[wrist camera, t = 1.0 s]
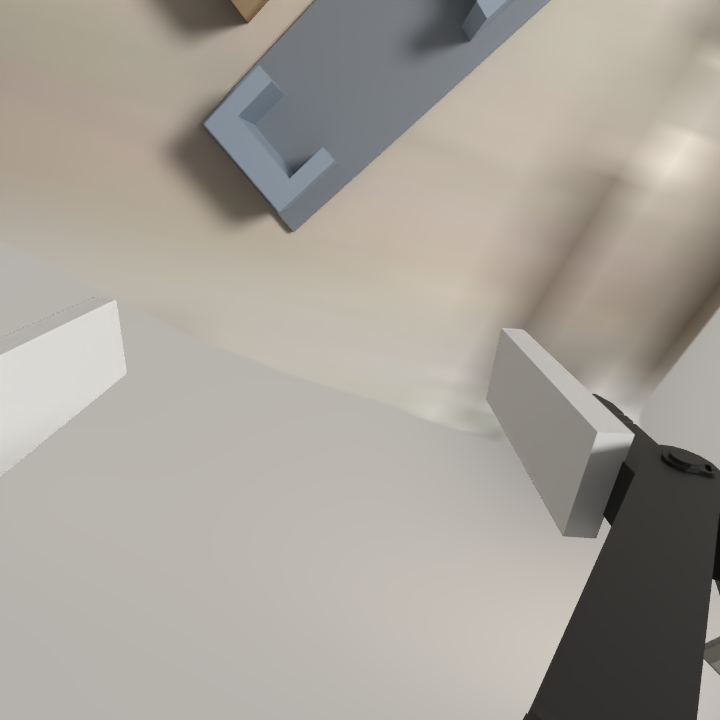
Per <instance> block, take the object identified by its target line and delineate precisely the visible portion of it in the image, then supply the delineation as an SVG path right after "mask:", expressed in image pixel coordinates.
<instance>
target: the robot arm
mask: <svg viewBox="0 0 720 720" xmlns="http://www.w3.org/2000/svg"><path fill="white" fill-rule="evenodd" d="M126 374H127V370H126V363H125V357H124V350H123V343H122V336H121V329H120V322H119V315H118V309H117V302H116V299H108V298H94V297H93V298H91V299H89V300H86V301H84V302H82V303H79V304H77V305H75V306H72V307H70V308H68V309H65V310H63V311H61V312H59V313H56V314H54V315H52V316H49V317H47V318H45V319H43V320H40V321H38V322H36V323H34V324H31V325H29V326H27V327H24V328H22V329H20V330H18V331H15V332H13V333H10V334H8V335H6V336H4V337H1V338H0V477H1V476H2V475H3V474H4V473H5V472H7V471H8V470H9V469H11V468H12V467H13V466H14V465H15V464H17V463H18V462H19V461H20V460H22V459H23V458H24V457H25V456H26V455H28V454H29V453H30V452H31V451H33V450H34V449H35V448H36V447H37V446H39V445H40V444H41V443H42V442H43V441H45V440H46V439H47V438H48V437H50V436H51V435H52V434H53V433H55V432H56V431H57V430H58V429H59V428H61V427H62V426H63V425H64V424H65V423H67V422H68V421H69V420H70V419H72V418H73V417H74V416H75V415H77V414H78V413H79V412H80V411H81V410H83V409H84V408H85V407H86V406H88V405H89V404H90V403H91V402H93V401H94V400H95V399H96V398H97V397H99V396H100V395H101V394H102V393H104V392H105V391H106V390H107V389H108V388H110V387H111V386H112V385H113V384H115V383H116V382H117V381H118V380H119V379H121V378H122V377H123V376H124V375H126ZM486 399H487V401H488V403H489V405H490V406H491V408H492V410H493V412H494V414H495V415H496V417H497V419H498V421H499V423H500V424H501V426H502V428H503V430H504V432H505V433H506V435H507V437H508V439H509V441H510V442H511V444H512V446H513V448H514V449H515V451H516V453H517V455H518V457H519V458H520V460H521V462H522V464H523V466H524V467H525V469H526V471H527V473H528V475H529V476H530V478H531V480H532V481H533V484H534V485H535V487H536V489H537V491H538V492H539V494H540V496H541V498H542V500H543V502H544V503H545V505H546V507H547V509H548V510H549V512H550V514H551V516H552V518H553V519H554V521H555V523H556V525H557V527H558V528H559V530H560V532H561V534H562V536H569V537H584V538H596V537H597V534H598V532H599V529H600V526H601V524H602V521H603V518H604V517H605V518H606V519H607V521H608V522H609V524H610V525H611V529H610V531H609V534H608V536H607V538H606V540H605V543H604V545H603V547H602V549H601V552H600V554H599V556H598V559H597V560H596V563H595V565H594V567H593V570H592V572H591V574H590V576H589V578H588V581H587V583H586V585H585V587H584V590H583V592H582V594H581V596H580V598H579V601H578V603H577V605H576V607H575V610H574V612H573V614H572V617H571V619H570V621H569V623H568V625H567V628H566V630H565V632H564V634H563V637H562V639H561V641H560V643H559V646H558V648H557V650H556V653H555V655H554V657H553V659H552V661H551V663H550V666H549V668H548V670H547V672H546V675H545V677H544V679H543V681H542V684H541V686H540V688H539V691H538V693H537V695H536V697H535V699H534V702H533V704H532V706H531V708H530V710H529V712H528V714H527V713H526V715H525V717H524V719H523V720H697V711H698V703H699V694H700V684H701V675H702V666H703V657H704V648H705V639H706V629H707V620H708V612H709V611H708V610H709V602H710V593H711V584H712V579H714V580H715V582H716V585H717V588H718V591H719V594H720V470H719V469H718V468H717V467H716V466H714V465H713V464H712V463H711V462H709V461H707V460H706V459H704V458H702V457H700V456H699V455H696V454H694V453H691V452H689V451H687V450H684V449H680V448H676V447H673V446H666V445H658V444H657V443H656V442H655V441H654V440H653V439H651V438H650V437H649V436H648V435H647V434H646V433H645V432H644V431H643V430H642V429H640V428H639V427H638V426H637V425H636V424H633V421H632V420H630V419H629V418H628V417H627V416H624V413H623V412H622V411H620V410H619V409H618V408H617V407H616V406H615V405H614V404H613V403H611V402H609V401H607V400H605V399H604V398H602V397H600V396H598V395H596V394H591V393H590V392H589V391H588V390H587V389H586V388H585V387H584V386H583V385H582V384H581V383H580V382H579V381H577V380H576V379H575V378H574V377H573V376H572V375H571V374H570V373H569V372H568V371H567V370H566V369H565V368H564V367H563V366H562V365H560V364H559V363H558V362H557V361H556V360H555V359H554V358H553V357H552V356H551V355H550V354H549V353H548V352H547V351H546V350H545V349H543V348H542V347H541V346H540V345H539V344H538V343H537V342H536V341H535V340H534V339H533V338H532V337H531V336H530V335H529V334H528V333H527V332H525V331H524V330H522V329H509V328H501V332H500V337H499V342H498V346H497V351H496V356H495V360H494V365H493V370H492V375H491V379H490V384H489V389H488V394H487V398H486Z"/></svg>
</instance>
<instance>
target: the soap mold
mask: <svg viewBox="0 0 720 720" xmlns="http://www.w3.org/2000/svg"><path fill="white" fill-rule="evenodd" d="M703 658H704V659H705V661H706V662H707V663H708V664H709V665H710V666H711V667H712V668H713V669H714V670H715V671H716V672H717V673H718V674H719V675H720V636H719V637H717V638H715V639H713V640H711V641H709V642H707V643H705V648H704V657H703Z"/></svg>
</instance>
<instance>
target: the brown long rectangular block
mask: <svg viewBox="0 0 720 720" xmlns="http://www.w3.org/2000/svg"><path fill="white" fill-rule="evenodd" d="M231 1H232V3H233V4H234V5H235V7H236V8H237V9H238V10H239V12H240V13H241V14H242V16H243V17H244V18H245V20H246V21H247V22H248V23H249V22H250V21H251V20H252V18H253V17H254V16H255V15H256V14H257V13H258V12H259V11H260V10H261V8H262V7H263V6H264V5H265V4H266V3H267V2H268V1H269V0H231Z"/></svg>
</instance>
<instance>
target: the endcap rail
mask: <svg viewBox="0 0 720 720" xmlns="http://www.w3.org/2000/svg"><path fill="white" fill-rule="evenodd" d="M549 1H550V0H316V1H315V2H314V3H313V4H312V5H311V6H310V7H309V8H308V9H307V10H306V11H305V12H304V14H303V15H302V16H301V17H300V18H299V19H298V20H297V21H296V22H295V23H294V24H293V25H292V26H291V27H290V28H289V30H288V31H287V32H286V33H285V34H284V35H283V36H282V37H281V38H280V39H279V40H278V41H277V42H276V43H275V45H274V46H273V47H272V48H271V49H270V50H269V51H268V52H267V53H266V54H265V55H264V56H263V57H262V58H261V60H260V61H259V62H258V63H257V64H256V65H255V66H254V67H253V68H252V69H251V70H250V71H249V72H248V73H247V75H246V76H245V77H244V78H243V79H242V80H241V81H240V82H239V83H238V84H237V85H236V86H235V87H234V88H233V89H232V91H231V92H230V93H229V94H228V95H227V96H226V97H225V98H224V99H223V100H222V101H221V102H220V103H219V104H218V106H217V107H216V108H215V109H214V110H213V111H212V112H211V113H210V114H209V115H208V116H207V117H206V118H205V119H204V121H203V122H202V123H201V124H202V126H203V127H204V128H205V129H206V130H207V131H208V133H209V134H210V135H211V136H212V137H213V138H214V140H215V141H216V142H217V143H218V144H219V145H220V147H221V148H222V149H223V150H224V151H225V153H226V154H227V155H228V156H229V157H230V158H231V160H232V161H233V162H234V163H235V164H236V165H237V167H238V168H239V169H240V170H241V171H242V172H243V174H244V175H245V176H246V177H247V178H248V179H249V181H250V182H251V183H252V184H253V185H254V187H255V188H256V189H257V190H258V191H259V192H260V194H261V195H262V196H263V197H264V198H265V199H266V201H267V202H268V203H269V204H270V205H271V206H272V208H273V209H274V210H275V211H276V212H277V214H278V215H279V216H280V217H281V218H282V219H283V221H284V222H285V223H286V224H287V225H288V226H289V228H290V229H291V230H292V231H293V232H294V231H296V230H297V229H298V228H299V227H300V226H301V225H302V224H303V223H304V222H306V221H307V220H308V219H309V218H310V217H311V216H312V215H313V214H314V213H315V212H317V211H318V210H319V209H320V208H321V207H322V206H323V205H324V204H325V203H327V202H328V201H329V200H330V199H331V198H332V197H333V196H334V195H335V194H337V193H338V192H339V191H340V190H341V189H342V188H343V187H344V186H345V185H346V184H348V183H349V182H350V181H351V180H352V179H353V178H354V177H355V176H356V175H358V174H359V173H360V172H361V171H362V170H363V169H364V168H365V167H366V166H368V165H369V164H370V163H371V162H372V161H373V160H374V159H375V158H376V157H377V156H379V155H380V154H381V153H382V152H383V151H384V150H385V149H386V148H387V147H389V146H390V145H391V144H392V143H393V142H394V141H395V140H396V139H397V138H399V137H400V136H401V135H402V134H403V133H404V132H405V131H406V130H407V129H408V128H410V127H411V126H412V125H413V124H414V123H415V122H416V121H417V120H418V119H420V118H421V117H422V116H423V115H424V114H425V113H426V112H427V111H428V110H429V109H431V108H432V107H433V106H434V105H435V104H436V103H437V102H438V101H439V100H441V99H442V98H443V97H444V96H445V95H446V94H447V93H448V92H449V91H451V90H452V89H453V88H454V87H455V86H456V85H457V84H458V83H459V82H460V81H462V80H463V79H464V78H465V77H466V76H467V75H468V74H469V73H470V72H472V71H473V70H474V69H475V68H476V67H477V66H478V65H479V64H480V63H482V62H483V61H484V60H485V59H486V58H487V57H488V56H489V55H490V54H491V53H493V52H494V51H495V50H496V49H497V48H498V47H499V46H500V45H501V44H503V43H504V42H505V41H506V40H507V39H508V38H509V37H510V36H511V35H513V34H514V33H515V32H516V31H517V30H518V29H519V28H520V27H521V26H522V25H524V24H525V23H526V22H527V21H528V20H529V19H530V18H531V17H532V16H534V15H535V14H536V13H537V12H538V11H539V10H540V9H541V8H542V7H544V6H545V5H546V4H547V3H548V2H549Z"/></svg>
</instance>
